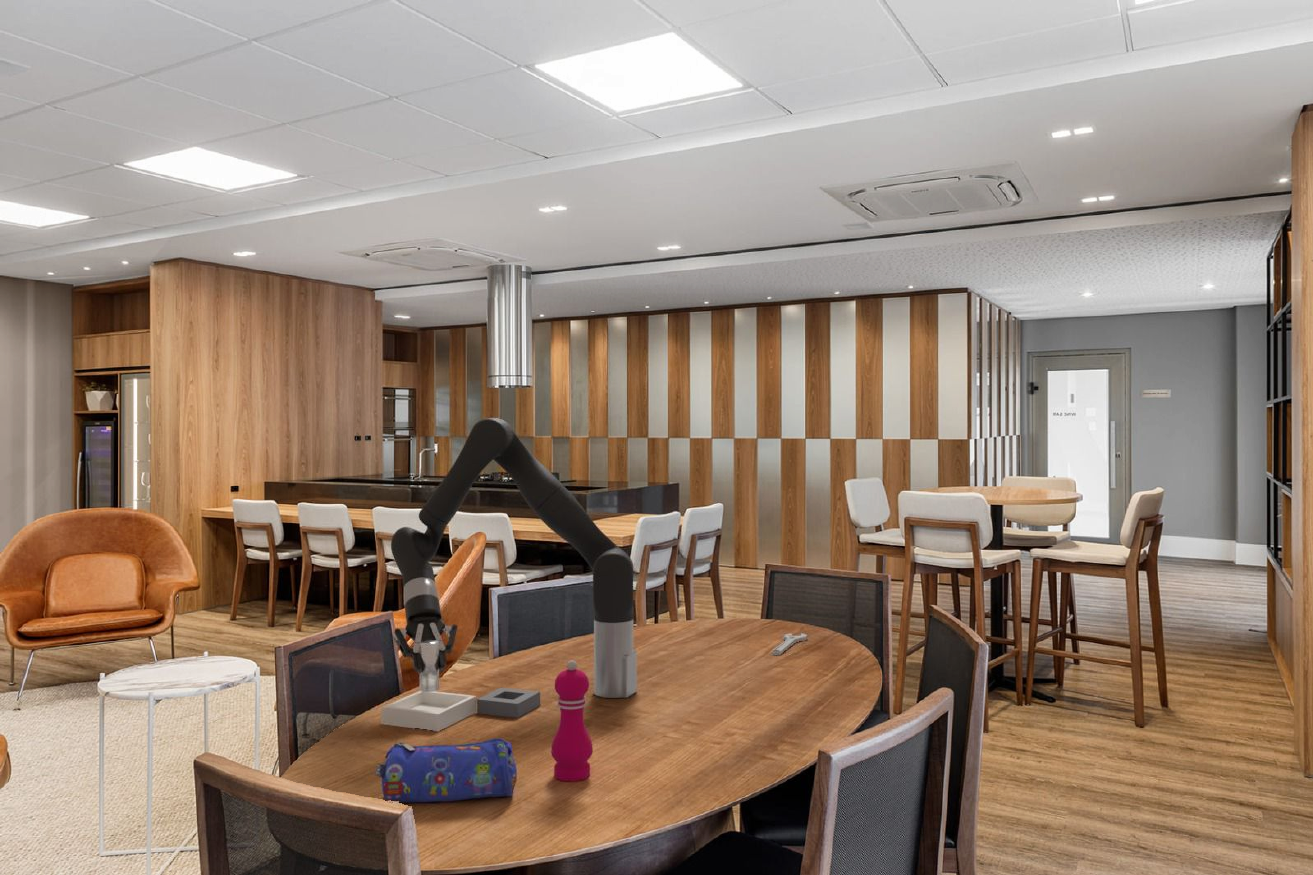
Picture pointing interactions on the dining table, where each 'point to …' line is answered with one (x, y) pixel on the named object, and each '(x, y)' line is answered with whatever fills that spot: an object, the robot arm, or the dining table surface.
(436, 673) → the pin
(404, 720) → the tray
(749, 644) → the dining table surface
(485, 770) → the pencil case
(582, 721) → the pepper mill
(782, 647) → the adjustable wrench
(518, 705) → the socket block
